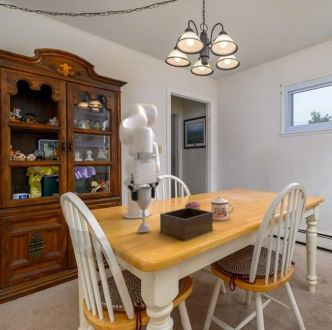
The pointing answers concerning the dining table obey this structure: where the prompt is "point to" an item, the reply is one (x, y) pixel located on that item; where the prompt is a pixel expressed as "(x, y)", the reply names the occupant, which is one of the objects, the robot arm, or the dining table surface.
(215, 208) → the teacup with lid
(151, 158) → the robot arm
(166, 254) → the dining table surface
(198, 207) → the red onion
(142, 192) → the chalice
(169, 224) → the crate
